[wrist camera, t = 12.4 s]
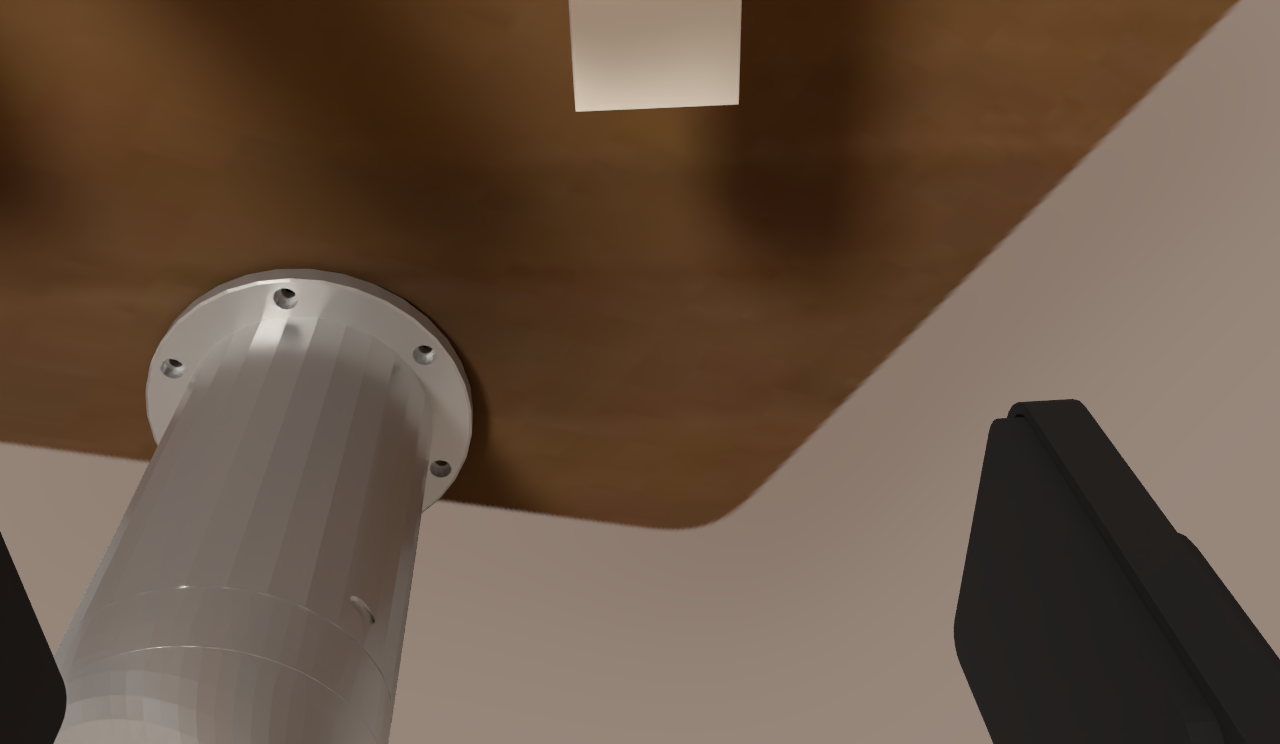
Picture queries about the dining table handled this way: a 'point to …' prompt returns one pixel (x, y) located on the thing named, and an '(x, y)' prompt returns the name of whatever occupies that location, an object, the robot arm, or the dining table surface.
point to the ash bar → (655, 53)
